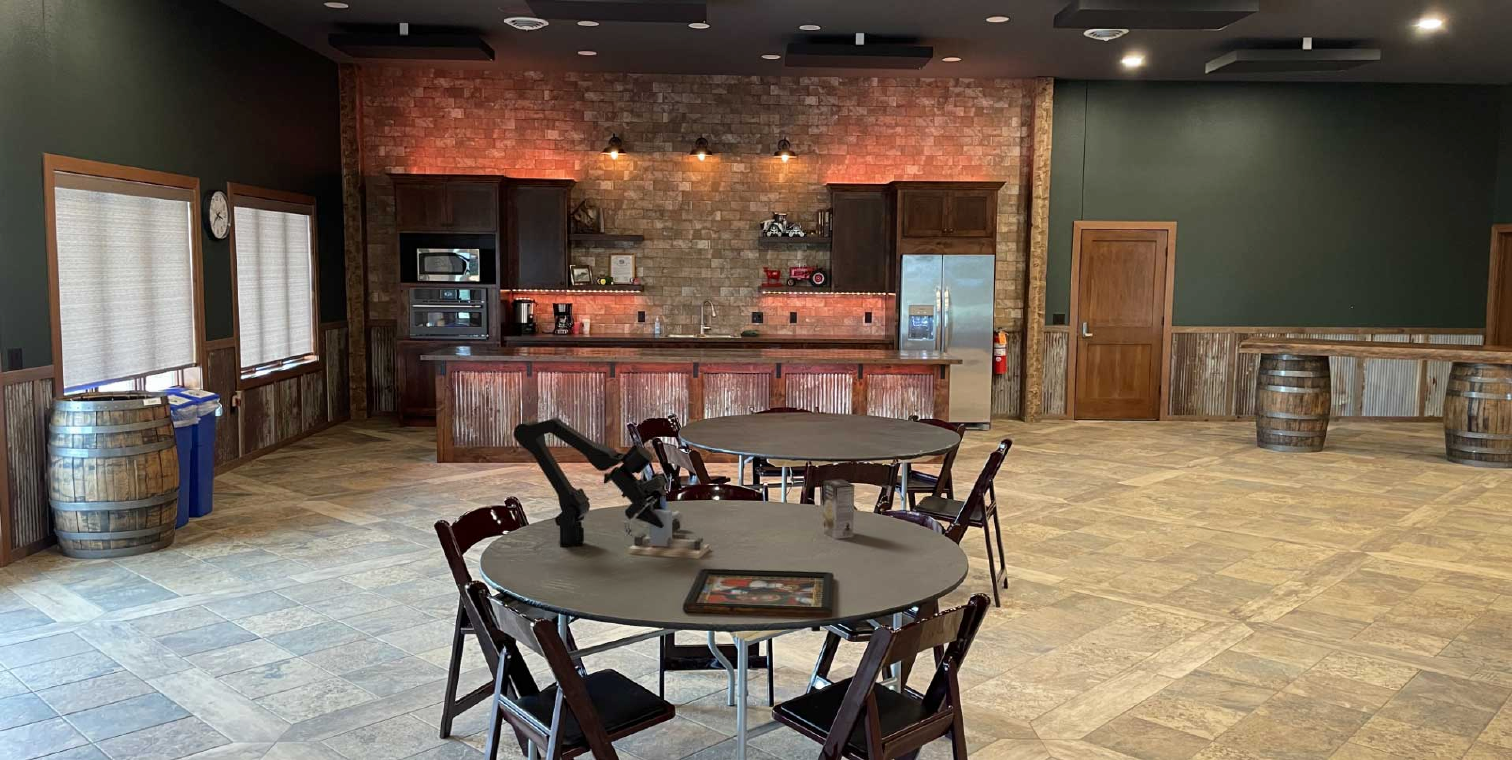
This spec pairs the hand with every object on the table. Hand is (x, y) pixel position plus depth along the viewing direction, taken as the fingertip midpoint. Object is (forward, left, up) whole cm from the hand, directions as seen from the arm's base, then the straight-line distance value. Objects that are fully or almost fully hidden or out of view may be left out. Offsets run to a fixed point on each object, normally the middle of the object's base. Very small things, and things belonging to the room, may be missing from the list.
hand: (665, 524), depth 299 cm
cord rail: (+1, -1, -8) cm, 8 cm away
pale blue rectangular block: (-1, +1, -6) cm, 6 cm away
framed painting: (+15, -45, -8) cm, 49 cm away
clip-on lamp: (0, +23, -8) cm, 24 cm away
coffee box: (+54, +6, -8) cm, 55 cm away
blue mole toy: (+2, +41, -8) cm, 41 cm away
